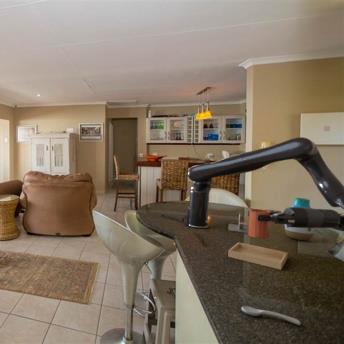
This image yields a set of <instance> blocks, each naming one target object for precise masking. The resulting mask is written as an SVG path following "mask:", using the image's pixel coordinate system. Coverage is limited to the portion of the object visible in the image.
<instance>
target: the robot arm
mask: <svg viewBox="0 0 344 344" xmlns="http://www.w3.org/2000/svg"><path fill="white" fill-rule="evenodd" d="M289 160H294V161H296V162H297V163H299V164H300V165H301V166H302V167H303V168H304V170H305V171H306V172H307V173H308V174H309V175H310V177H311V179H312V181H313V183H314V185H315V187H316V188H317V190H318V191H319V192H320V194H321V195H322V198H323V199H324V200H325V201H326V203H327V204H328V205H329V206H330V207H332V208H341V209H342V210H344V184H343V183H342V182H341V181H340V180H339V178H338V177H337V176H336V175H335V174H334V172H333V171H332V170H331V169H330V168H329V166H328V165H327V163H326V161H325V160H324V159H323V157H322V155H321V153H320V151H319V148H318V146H317V144H316V143H315V142H313V141H312V140H311V139H309V138H307V137H303V136H299V137H293V138H290V139H287V140H285V141H282V142H279V143H276V144H273V145H271V146H266V147H263V148H258V149H254V150H250V151H246V152H241V153H238V154H234V155H230V156H228V157H225V158H222V159H220V160H217V161H213V162H209V163H203V164H196V165H193V166H191V167H190V168H189V169H188V171H187V177H188V179H189V180H190V181H191V182H193V184H192V186H191V187H190V189H189V197H188V201H189V202H188V207H187V208H186V210H187V211H186V214H185V215H184V216H182V217H181V219H179V218H177V217H174V216H169V215H167V214H166V213H162V214H161V215H160V217H163V216H164V217H166V218H168V219H172V220H175V221H178V222H181V223H182V222H184V221H186V226H187V227H190V228H195V229H208V223H209V206H210V192H211V190H212V182H213V179H214V178H217V177H226V176H234V175H240V174H241V175H242V174H246V173H251V172H255V171H257V170H260V169H262V168H264V167H266V166H268V165H271V164H273V163H279V162H282V161H289ZM266 210H267V211H270V212H271V214H270V216H269V215H257V220H258V221H269V222H270V223H274V224H276V225H285V224H286V225H287V226H288V227H296V228H315V229H331V230H336V231H339V232H340V231H341V232H344V212H343V213H339V212H337V210H334V209H329V208H314V207H311V208H299V207H289V206H288V207H286V208H285V209H284V210H283V211H281V210H274V209H266ZM247 216H248V217H249V210H248V211H247Z"/></svg>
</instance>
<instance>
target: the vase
mask: <svg viewBox="0 0 344 344" xmlns="http://www.w3.org/2000/svg"><path fill="white" fill-rule="evenodd" d="M288 207H299V208H312V207H311V200H310V199H309V198H304V197H294V199H293V204H292V205H290V206H288ZM315 231H316V228H296V227H288V226H287V225H286V224H284V232H285V234H286V235H287V236H288V237H289V238H291V239H293V240H298V241H309V240H311V239H312V238H313V237H314V235H315Z"/></svg>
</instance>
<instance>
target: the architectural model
mask: <svg viewBox="0 0 344 344" xmlns="http://www.w3.org/2000/svg"><path fill="white" fill-rule="evenodd" d="M248 227H249V225H248V221H247V220H245V214H241V213H239V216H238V224H236V223H235V224H234V223H228V226H227V230H228V231H232V232H240V233H244V234H245V233H247V234H248Z"/></svg>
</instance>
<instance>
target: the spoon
mask: <svg viewBox="0 0 344 344" xmlns="http://www.w3.org/2000/svg"><path fill="white" fill-rule="evenodd" d="M241 311H242V312H243V313H245V314H247V315H249V316H252V317H257V316H260V315H267V316H268V315H269V316H273V317H276V318H279V319H282V320H285V321H287V322H289V323H292V324H294V325H297V326H301V325H302V324H301V321H300V320H298V318H295V317H292V316H288V315H286V314H282V313H279V312H275V311H270V310H265V309H257V308H255V307H253V306H248V305H242V306H241Z"/></svg>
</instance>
